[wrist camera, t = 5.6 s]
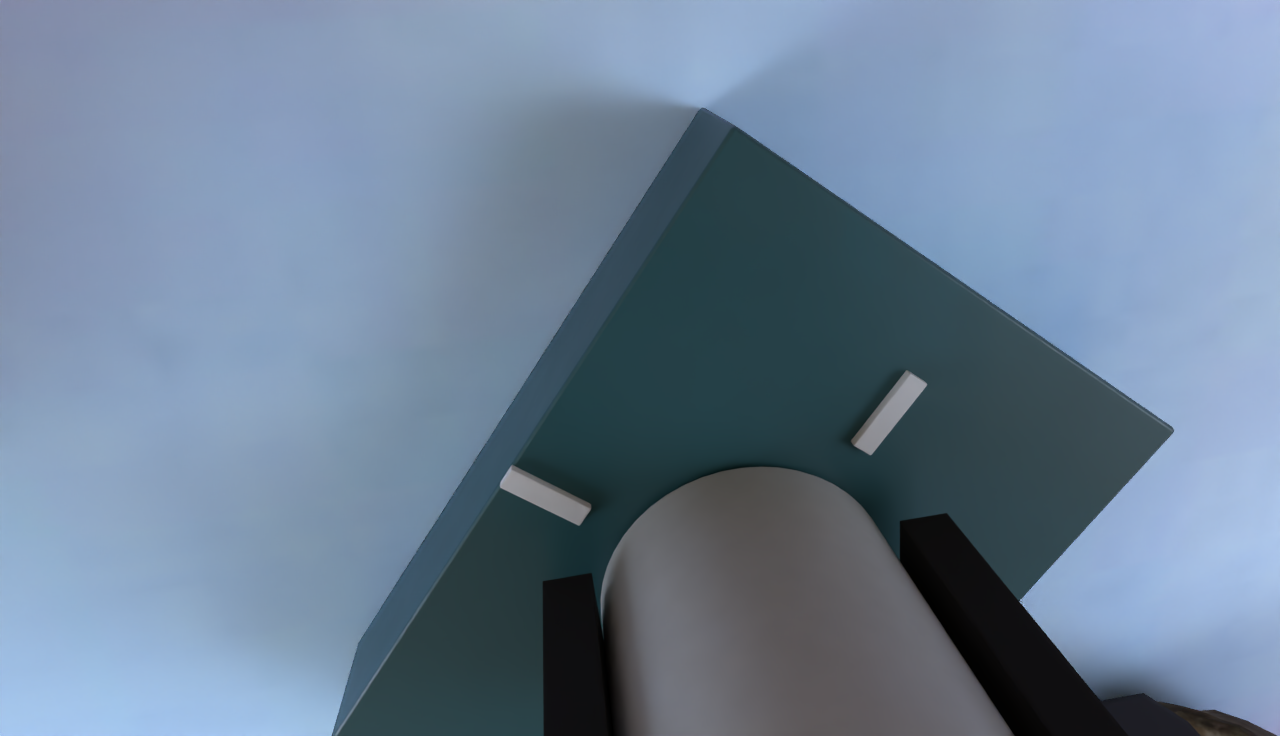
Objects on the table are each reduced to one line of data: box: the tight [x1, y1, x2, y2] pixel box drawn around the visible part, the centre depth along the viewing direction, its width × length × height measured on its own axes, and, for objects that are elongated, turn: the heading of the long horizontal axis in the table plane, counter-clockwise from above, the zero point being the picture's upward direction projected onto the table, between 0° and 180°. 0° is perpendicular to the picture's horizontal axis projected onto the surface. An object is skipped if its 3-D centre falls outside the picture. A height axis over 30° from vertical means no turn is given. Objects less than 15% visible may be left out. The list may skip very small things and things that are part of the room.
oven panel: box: [332, 108, 1174, 736], centre depth 15 cm, size 12×9×3 cm
